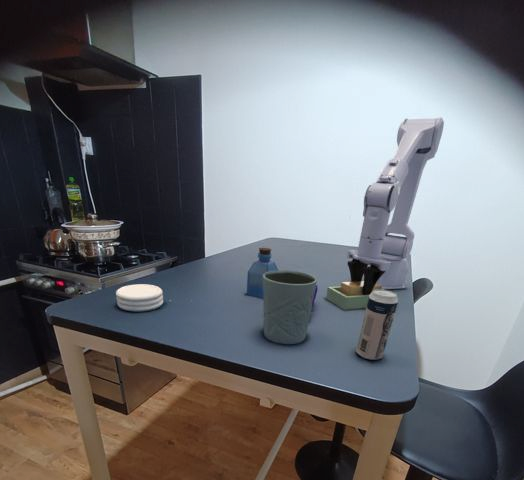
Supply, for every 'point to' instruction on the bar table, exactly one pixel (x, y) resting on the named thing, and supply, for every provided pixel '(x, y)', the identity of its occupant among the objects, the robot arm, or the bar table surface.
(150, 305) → the coaster
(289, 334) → the green embossed cup
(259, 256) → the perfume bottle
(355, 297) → the eraser holder
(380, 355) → the beer can
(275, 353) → the bar table surface
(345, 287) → the eraser
